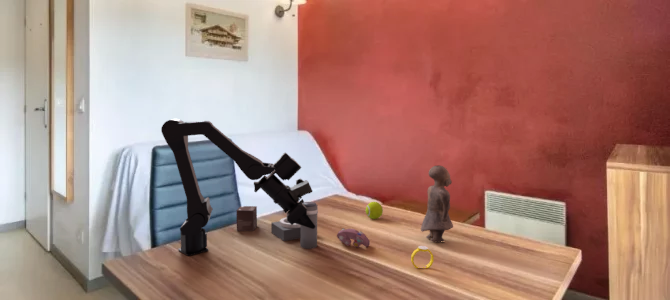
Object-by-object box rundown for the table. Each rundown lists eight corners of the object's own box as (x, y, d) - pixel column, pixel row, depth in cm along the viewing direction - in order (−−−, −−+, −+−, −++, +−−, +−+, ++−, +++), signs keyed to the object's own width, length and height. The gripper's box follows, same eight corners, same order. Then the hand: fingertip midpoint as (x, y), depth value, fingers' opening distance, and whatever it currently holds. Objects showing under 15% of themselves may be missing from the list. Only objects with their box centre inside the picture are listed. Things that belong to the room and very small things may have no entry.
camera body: (283, 241, 129) (283, 226, 129) (271, 232, 138) (271, 219, 137) (316, 235, 136) (316, 221, 135) (302, 227, 144) (302, 214, 144)
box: (253, 231, 139) (253, 210, 138) (236, 230, 139) (236, 210, 138) (257, 226, 145) (257, 206, 144) (240, 225, 145) (240, 205, 144)
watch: (430, 266, 112) (432, 246, 111) (433, 271, 109) (436, 249, 108) (409, 265, 111) (411, 245, 110) (412, 269, 108) (414, 248, 108)
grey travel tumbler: (308, 250, 122) (308, 206, 120) (296, 245, 126) (296, 203, 124) (320, 245, 126) (321, 203, 124) (309, 241, 129) (309, 200, 128)
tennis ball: (362, 216, 159) (363, 200, 158) (378, 215, 161) (378, 199, 160) (369, 221, 153) (369, 204, 152) (385, 220, 155) (385, 203, 154)
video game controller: (337, 248, 128) (333, 232, 125) (343, 238, 132) (339, 222, 128) (366, 254, 124) (362, 237, 120) (371, 243, 127) (368, 227, 124)
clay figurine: (459, 246, 127) (463, 168, 125) (430, 248, 125) (434, 169, 123) (440, 233, 140) (443, 162, 137) (413, 235, 138) (416, 163, 135)
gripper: (299, 177, 113) (337, 214, 116) (294, 167, 131) (326, 199, 135) (271, 205, 113) (309, 242, 116) (269, 191, 131) (303, 223, 134)
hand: (313, 225), depth 125 cm, fingers closed on grey travel tumbler, 5 cm apart
